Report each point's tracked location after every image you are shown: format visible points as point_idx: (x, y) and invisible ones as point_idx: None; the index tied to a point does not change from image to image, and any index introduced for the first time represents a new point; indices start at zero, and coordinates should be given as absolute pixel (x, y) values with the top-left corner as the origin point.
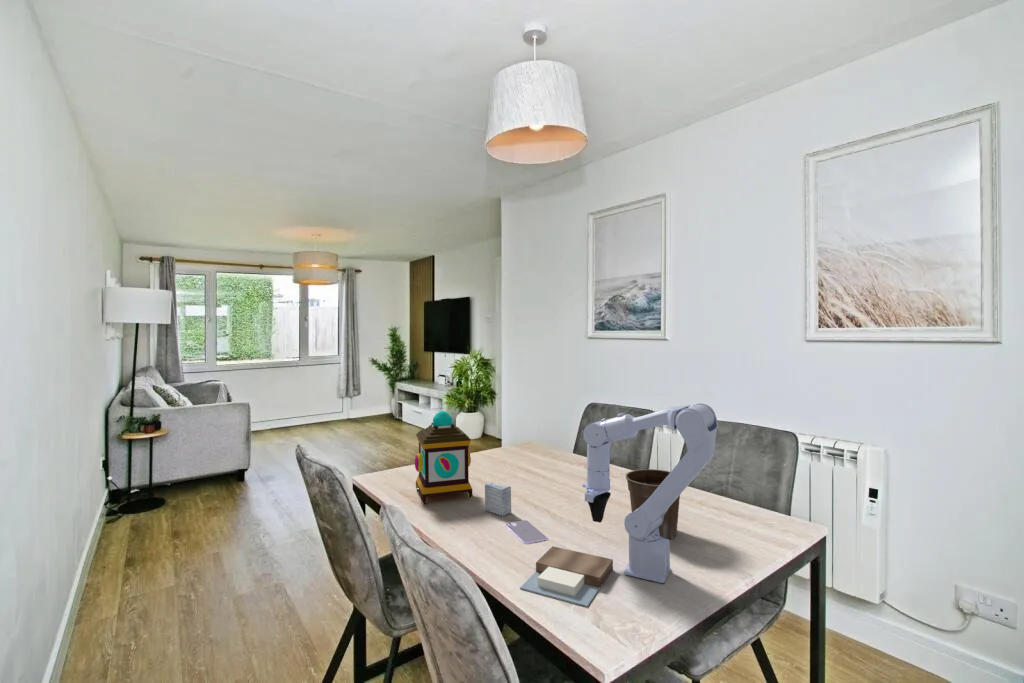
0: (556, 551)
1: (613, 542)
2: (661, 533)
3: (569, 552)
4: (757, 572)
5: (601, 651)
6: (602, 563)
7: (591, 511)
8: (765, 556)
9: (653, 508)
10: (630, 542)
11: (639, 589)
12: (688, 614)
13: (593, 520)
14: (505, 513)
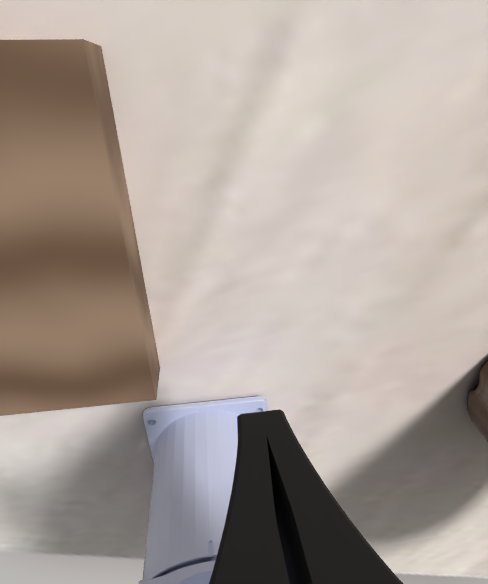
0: (25, 116)
1: (412, 286)
2: (483, 433)
3: (79, 206)
4: None
5: None
6: (88, 384)
7: (232, 499)
8: (419, 561)
9: None
10: (162, 540)
11: (86, 461)
12: (56, 550)
13: (238, 423)
14: None
